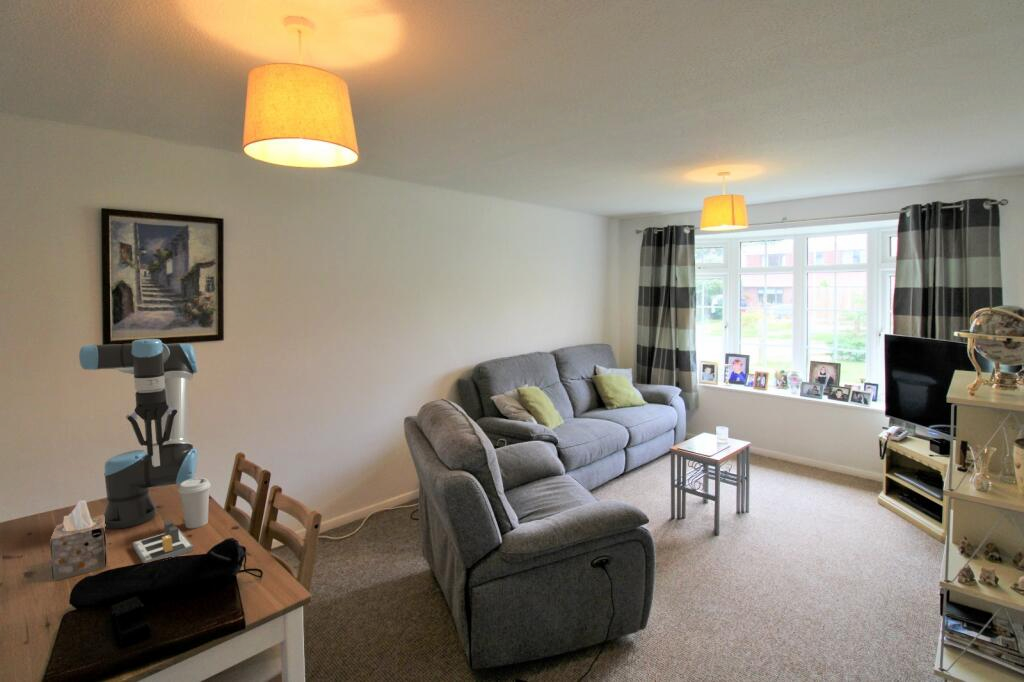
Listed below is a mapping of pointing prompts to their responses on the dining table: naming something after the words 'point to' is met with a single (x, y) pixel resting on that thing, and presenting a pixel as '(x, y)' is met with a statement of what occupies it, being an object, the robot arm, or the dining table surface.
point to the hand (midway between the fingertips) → (156, 465)
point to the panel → (153, 545)
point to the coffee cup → (195, 501)
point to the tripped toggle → (167, 543)
